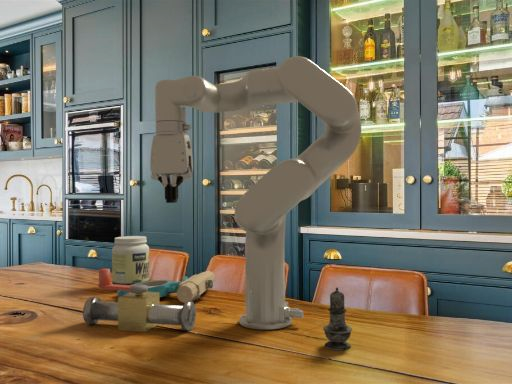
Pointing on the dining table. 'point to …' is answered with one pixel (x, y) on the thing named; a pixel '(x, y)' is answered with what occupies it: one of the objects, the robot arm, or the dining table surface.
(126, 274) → the supplement tub
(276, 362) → the dining table surface
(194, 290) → the butterfly valve
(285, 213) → the robot arm
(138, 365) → the dining table surface
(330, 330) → the salt shaker
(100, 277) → the lever
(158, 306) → the valve body
